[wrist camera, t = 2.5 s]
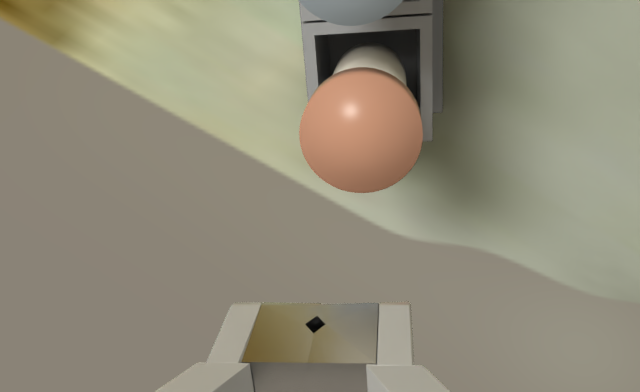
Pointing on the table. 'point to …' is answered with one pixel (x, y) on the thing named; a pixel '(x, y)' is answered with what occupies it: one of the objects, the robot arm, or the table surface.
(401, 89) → the terracotta plug
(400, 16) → the socket board
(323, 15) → the slate plug
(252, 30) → the table surface
